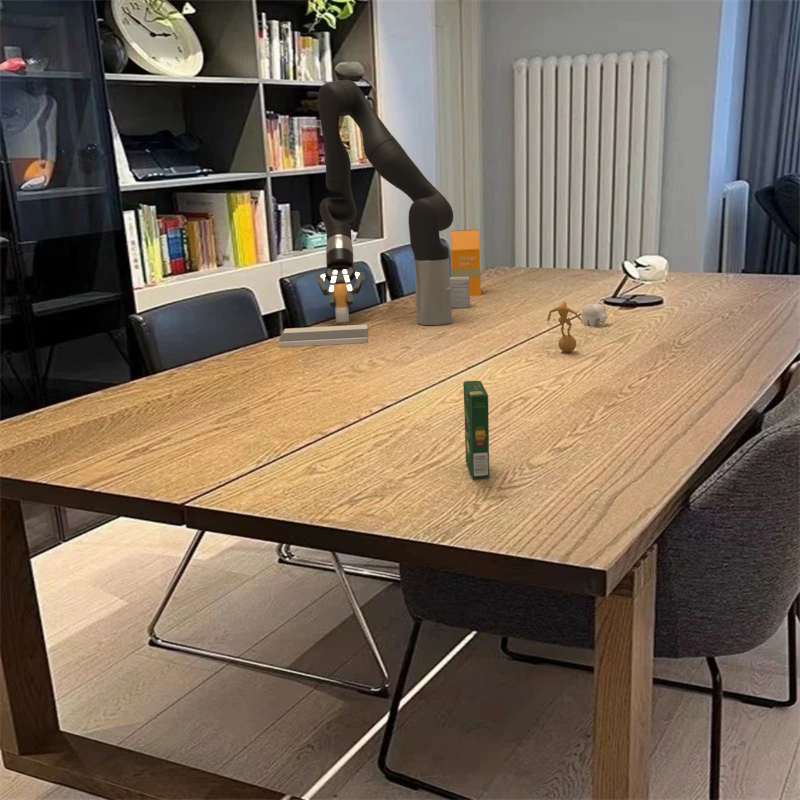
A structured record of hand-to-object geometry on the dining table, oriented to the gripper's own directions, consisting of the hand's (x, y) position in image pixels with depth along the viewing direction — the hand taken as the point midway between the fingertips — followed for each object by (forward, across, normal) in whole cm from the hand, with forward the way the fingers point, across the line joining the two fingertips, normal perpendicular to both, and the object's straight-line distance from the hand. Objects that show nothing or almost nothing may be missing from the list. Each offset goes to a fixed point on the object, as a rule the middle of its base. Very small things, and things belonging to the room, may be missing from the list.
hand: (341, 305), depth 261 cm
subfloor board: (+15, -4, -6) cm, 17 cm away
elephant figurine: (+17, +65, -7) cm, 67 cm away
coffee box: (+91, +24, -82) cm, 124 cm away
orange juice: (-26, +38, +35) cm, 58 cm away
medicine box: (-10, +33, +19) cm, 39 cm away
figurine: (+38, +52, -28) cm, 70 cm away
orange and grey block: (+2, 0, +4) cm, 5 cm away
